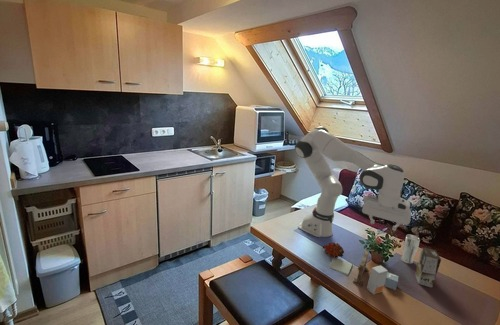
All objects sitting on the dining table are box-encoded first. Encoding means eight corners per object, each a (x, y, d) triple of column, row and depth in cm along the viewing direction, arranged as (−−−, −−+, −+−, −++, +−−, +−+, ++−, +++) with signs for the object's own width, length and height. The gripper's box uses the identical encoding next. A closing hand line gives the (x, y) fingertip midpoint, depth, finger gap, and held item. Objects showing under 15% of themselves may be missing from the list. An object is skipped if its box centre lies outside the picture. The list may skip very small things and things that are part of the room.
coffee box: (432, 288, 131) (441, 260, 127) (418, 284, 133) (426, 256, 129) (428, 276, 139) (436, 249, 135) (414, 273, 141) (421, 246, 137)
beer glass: (415, 265, 148) (422, 241, 144) (402, 263, 149) (408, 239, 145) (411, 258, 154) (417, 235, 150) (398, 255, 156) (404, 233, 151)
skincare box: (373, 295, 123) (378, 273, 120) (366, 288, 127) (371, 267, 124) (382, 292, 126) (388, 270, 122) (375, 285, 129) (380, 264, 126)
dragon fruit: (344, 263, 144) (322, 259, 151) (347, 251, 150) (326, 248, 157) (340, 252, 140) (319, 249, 148) (344, 240, 146) (323, 238, 153)
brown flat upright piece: (362, 286, 128) (366, 267, 125) (353, 282, 130) (357, 263, 127) (367, 269, 141) (372, 251, 138) (359, 265, 143) (363, 248, 140)
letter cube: (384, 285, 130) (386, 276, 128) (385, 280, 134) (387, 271, 133) (395, 290, 127) (397, 281, 126) (396, 284, 132) (398, 275, 130)
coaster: (328, 267, 140) (328, 266, 140) (333, 258, 148) (333, 257, 148) (347, 275, 135) (348, 274, 135) (352, 265, 143) (352, 264, 143)
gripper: (363, 196, 125) (358, 222, 129) (413, 208, 114) (406, 236, 118) (365, 192, 130) (361, 217, 134) (414, 203, 119) (407, 231, 123)
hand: (382, 226), depth 126 cm, fingers open, 8 cm apart
